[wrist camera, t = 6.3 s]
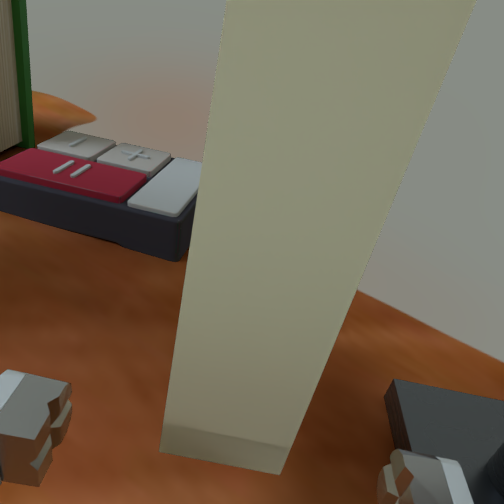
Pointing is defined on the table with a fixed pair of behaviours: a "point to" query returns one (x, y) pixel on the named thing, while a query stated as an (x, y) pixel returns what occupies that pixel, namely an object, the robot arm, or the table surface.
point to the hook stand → (452, 432)
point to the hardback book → (15, 77)
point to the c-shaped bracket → (293, 206)
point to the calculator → (105, 192)
